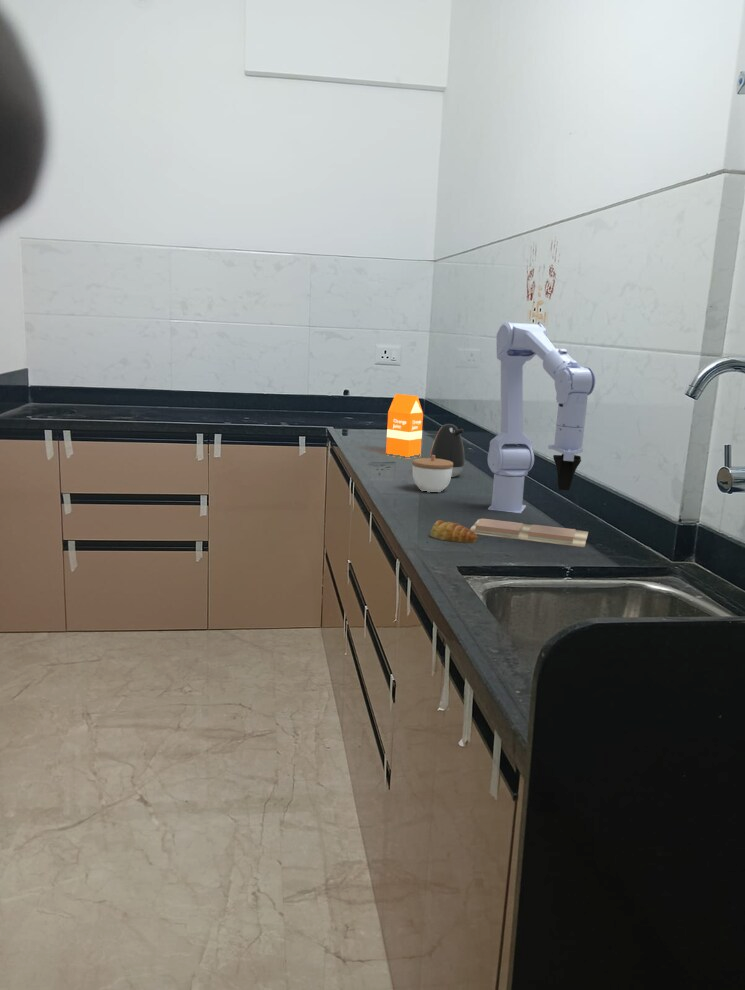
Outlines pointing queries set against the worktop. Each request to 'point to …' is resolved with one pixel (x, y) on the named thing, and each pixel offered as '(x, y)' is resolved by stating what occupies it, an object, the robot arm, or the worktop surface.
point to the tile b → (551, 533)
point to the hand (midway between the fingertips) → (563, 489)
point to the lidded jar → (432, 473)
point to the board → (578, 539)
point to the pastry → (452, 532)
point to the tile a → (499, 527)
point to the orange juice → (404, 426)
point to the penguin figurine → (450, 447)
